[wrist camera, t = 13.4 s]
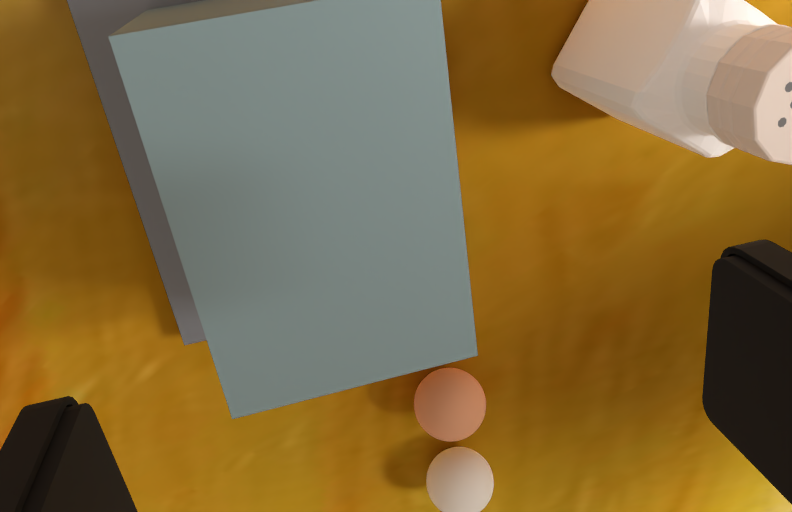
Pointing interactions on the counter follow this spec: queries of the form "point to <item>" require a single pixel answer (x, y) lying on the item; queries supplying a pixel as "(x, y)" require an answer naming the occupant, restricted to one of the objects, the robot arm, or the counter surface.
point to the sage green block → (307, 187)
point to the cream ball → (460, 480)
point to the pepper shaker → (686, 72)
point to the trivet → (135, 144)
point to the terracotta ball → (449, 404)
